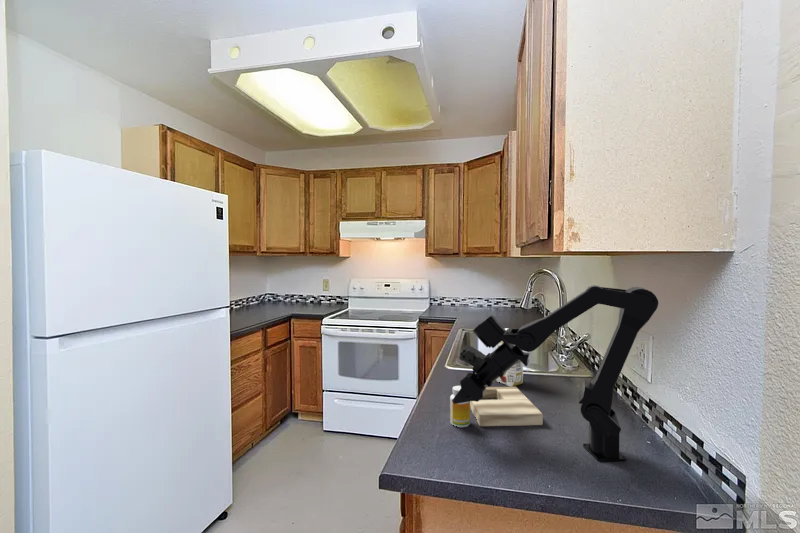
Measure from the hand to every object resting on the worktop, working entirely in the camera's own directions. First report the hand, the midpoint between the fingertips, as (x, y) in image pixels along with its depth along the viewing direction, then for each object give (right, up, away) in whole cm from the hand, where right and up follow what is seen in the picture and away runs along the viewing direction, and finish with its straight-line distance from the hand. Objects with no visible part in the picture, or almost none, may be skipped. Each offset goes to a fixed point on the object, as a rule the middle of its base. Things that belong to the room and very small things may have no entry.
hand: (458, 395), depth 95 cm
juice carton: (+24, -7, +31) cm, 39 cm away
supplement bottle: (0, -8, 0) cm, 8 cm away
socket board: (+14, -7, +8) cm, 18 cm away
